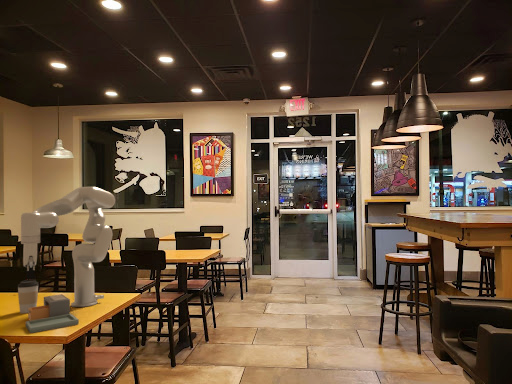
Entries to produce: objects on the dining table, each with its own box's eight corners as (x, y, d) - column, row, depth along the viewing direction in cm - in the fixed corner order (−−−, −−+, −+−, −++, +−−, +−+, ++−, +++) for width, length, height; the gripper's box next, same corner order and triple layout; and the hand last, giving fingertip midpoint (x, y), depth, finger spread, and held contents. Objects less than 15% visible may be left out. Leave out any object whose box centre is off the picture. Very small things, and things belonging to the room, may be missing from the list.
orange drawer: (57, 314, 186) (57, 303, 186) (60, 317, 180) (60, 306, 181) (27, 319, 178) (27, 308, 178) (29, 322, 173) (29, 310, 173)
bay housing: (69, 317, 179) (69, 298, 179) (50, 320, 174) (50, 301, 174) (61, 310, 191) (61, 293, 192) (43, 313, 186) (43, 296, 187)
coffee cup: (41, 310, 192) (41, 280, 193) (21, 314, 185) (21, 283, 186) (34, 308, 198) (34, 278, 199) (14, 311, 191) (14, 281, 192)
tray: (71, 318, 177) (71, 313, 177) (78, 324, 166) (78, 319, 167) (25, 326, 166) (25, 321, 166) (30, 333, 155) (30, 328, 155)
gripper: (21, 239, 180) (21, 276, 179) (20, 241, 166) (20, 282, 165) (39, 238, 184) (39, 275, 183) (41, 240, 169) (41, 280, 169)
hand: (30, 278), depth 174 cm, fingers open, 9 cm apart
